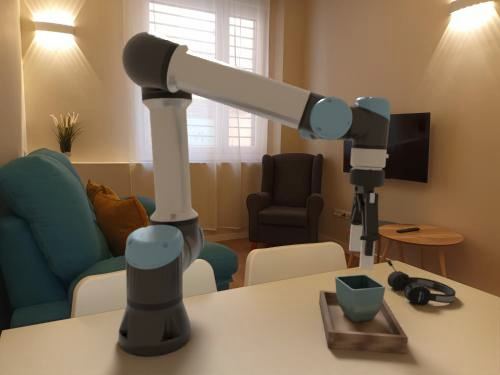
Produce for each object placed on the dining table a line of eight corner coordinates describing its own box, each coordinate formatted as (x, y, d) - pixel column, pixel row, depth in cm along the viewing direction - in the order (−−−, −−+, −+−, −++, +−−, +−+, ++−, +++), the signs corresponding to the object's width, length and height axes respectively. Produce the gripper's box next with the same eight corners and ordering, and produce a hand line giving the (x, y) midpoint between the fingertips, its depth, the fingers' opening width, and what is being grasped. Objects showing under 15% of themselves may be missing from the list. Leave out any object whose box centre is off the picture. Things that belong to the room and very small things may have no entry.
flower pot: (332, 310, 94) (334, 276, 92) (363, 307, 96) (365, 273, 95) (349, 327, 85) (352, 289, 84) (383, 323, 87) (386, 287, 86)
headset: (378, 254, 111) (439, 260, 114) (373, 285, 112) (433, 290, 115) (403, 270, 98) (471, 277, 101) (396, 305, 99) (464, 310, 102)
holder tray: (327, 347, 78) (328, 332, 78) (319, 302, 100) (319, 290, 100) (406, 353, 77) (407, 337, 76) (380, 306, 99) (381, 294, 98)
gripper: (401, 173, 71) (391, 280, 74) (372, 165, 96) (365, 245, 98) (361, 171, 72) (352, 277, 75) (342, 163, 96) (336, 243, 99)
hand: (359, 259), depth 87 cm, fingers open, 13 cm apart
